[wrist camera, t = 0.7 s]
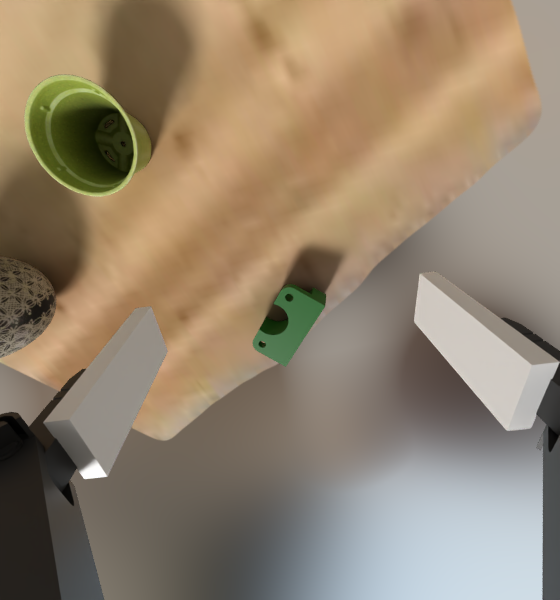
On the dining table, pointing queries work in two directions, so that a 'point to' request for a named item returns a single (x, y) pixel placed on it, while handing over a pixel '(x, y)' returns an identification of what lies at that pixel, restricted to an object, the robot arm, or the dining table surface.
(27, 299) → the decorative egg
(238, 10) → the dining table surface
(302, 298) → the clamp
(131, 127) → the plant pot
